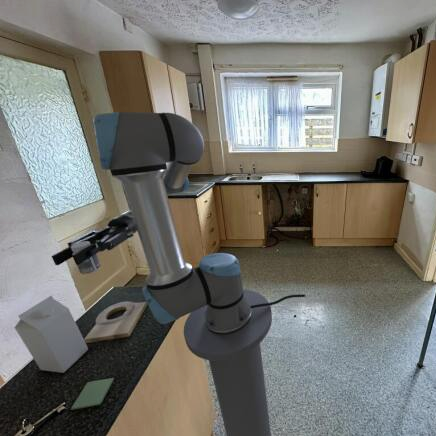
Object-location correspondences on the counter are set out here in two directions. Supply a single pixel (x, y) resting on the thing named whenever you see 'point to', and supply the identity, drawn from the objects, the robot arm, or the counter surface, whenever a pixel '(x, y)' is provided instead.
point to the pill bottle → (89, 264)
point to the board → (116, 322)
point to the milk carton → (51, 335)
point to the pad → (93, 393)
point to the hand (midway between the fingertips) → (65, 260)
